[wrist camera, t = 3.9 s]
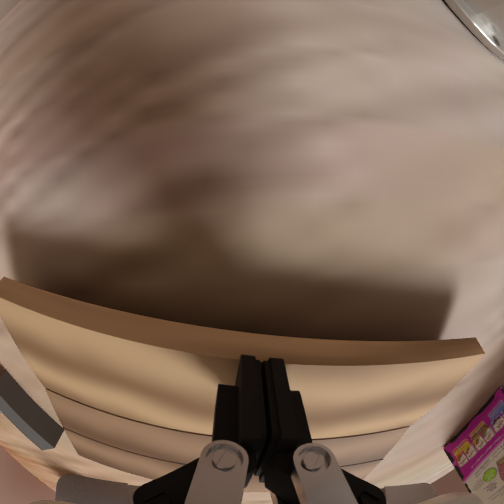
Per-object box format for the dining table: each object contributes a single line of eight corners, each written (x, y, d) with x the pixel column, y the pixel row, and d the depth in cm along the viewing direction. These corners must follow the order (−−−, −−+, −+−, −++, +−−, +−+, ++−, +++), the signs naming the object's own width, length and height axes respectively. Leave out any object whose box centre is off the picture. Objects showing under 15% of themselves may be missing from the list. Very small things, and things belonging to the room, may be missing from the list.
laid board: (54, 377, 15) (45, 389, 13) (402, 414, 17) (409, 427, 15) (83, 444, 17) (78, 455, 16) (356, 471, 20) (360, 482, 18)
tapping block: (-1, 378, 16) (-14, 394, 13) (7, 368, 15) (-8, 385, 12) (51, 432, 18) (41, 450, 15) (65, 427, 17) (54, 448, 14)
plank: (3, 276, 10) (-11, 292, 9) (475, 337, 12) (484, 353, 11) (51, 372, 14) (44, 386, 13) (406, 411, 17) (411, 424, 15)
